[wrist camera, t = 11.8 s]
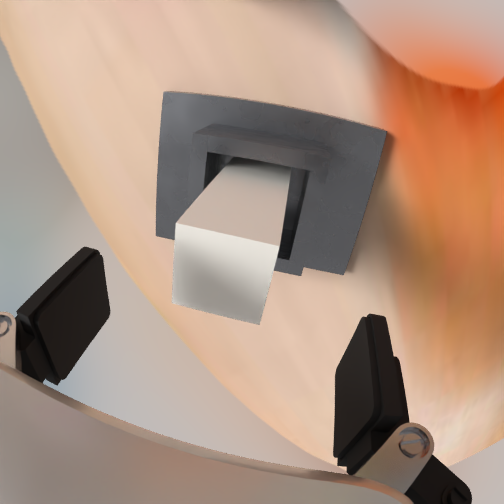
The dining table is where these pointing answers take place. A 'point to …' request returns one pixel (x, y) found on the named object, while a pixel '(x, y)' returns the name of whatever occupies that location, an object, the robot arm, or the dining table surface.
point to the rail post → (231, 240)
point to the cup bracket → (279, 152)
